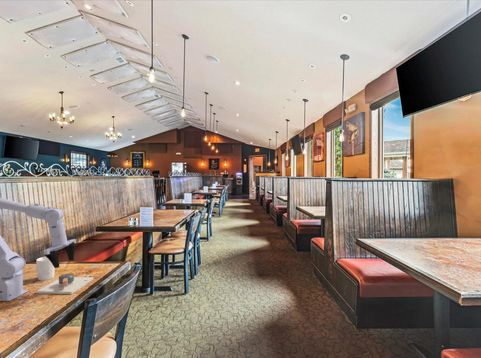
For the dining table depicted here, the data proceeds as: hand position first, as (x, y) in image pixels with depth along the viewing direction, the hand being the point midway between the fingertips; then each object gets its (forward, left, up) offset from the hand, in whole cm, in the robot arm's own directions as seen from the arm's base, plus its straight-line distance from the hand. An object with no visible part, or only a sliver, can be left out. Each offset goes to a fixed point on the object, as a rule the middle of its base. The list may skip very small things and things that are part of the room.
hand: (64, 263), depth 119 cm
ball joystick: (+2, +1, -10) cm, 10 cm away
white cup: (+13, +19, -12) cm, 26 cm away
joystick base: (+4, +2, -12) cm, 13 cm away
